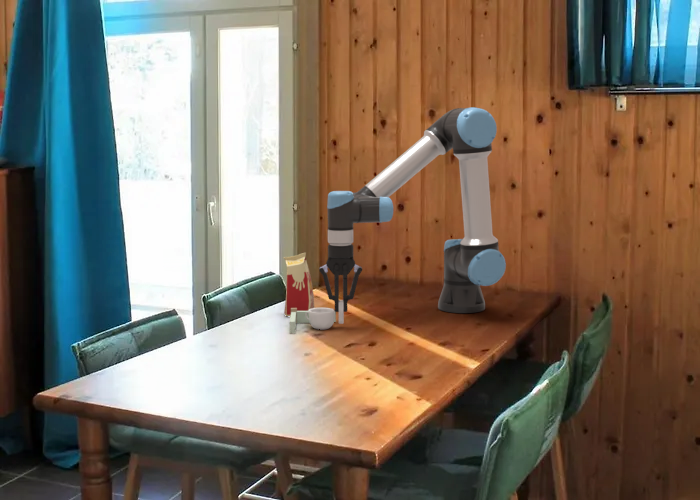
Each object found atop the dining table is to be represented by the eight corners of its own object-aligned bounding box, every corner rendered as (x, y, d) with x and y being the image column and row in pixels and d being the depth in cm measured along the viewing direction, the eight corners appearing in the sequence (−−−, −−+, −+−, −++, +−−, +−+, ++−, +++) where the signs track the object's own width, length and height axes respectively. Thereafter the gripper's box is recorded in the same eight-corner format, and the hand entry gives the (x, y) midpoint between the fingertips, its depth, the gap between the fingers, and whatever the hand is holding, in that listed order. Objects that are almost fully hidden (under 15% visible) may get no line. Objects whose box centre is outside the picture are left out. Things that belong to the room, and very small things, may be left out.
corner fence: (335, 321, 274) (335, 307, 274) (336, 333, 259) (336, 318, 259) (291, 321, 274) (290, 307, 273) (289, 333, 259) (289, 318, 258)
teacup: (340, 327, 266) (340, 309, 266) (324, 332, 260) (324, 314, 259) (313, 323, 272) (313, 305, 271) (297, 327, 266) (297, 309, 265)
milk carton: (314, 311, 289) (313, 250, 286) (310, 317, 280) (309, 254, 277) (286, 311, 290) (285, 250, 287) (281, 317, 280) (280, 254, 278)
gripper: (362, 242, 266) (362, 319, 270) (318, 242, 266) (319, 320, 269) (363, 245, 259) (363, 325, 262) (318, 245, 259) (319, 325, 262)
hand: (341, 322), depth 266 cm, fingers closed
